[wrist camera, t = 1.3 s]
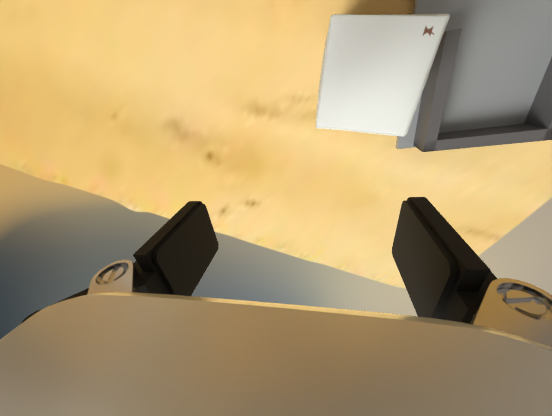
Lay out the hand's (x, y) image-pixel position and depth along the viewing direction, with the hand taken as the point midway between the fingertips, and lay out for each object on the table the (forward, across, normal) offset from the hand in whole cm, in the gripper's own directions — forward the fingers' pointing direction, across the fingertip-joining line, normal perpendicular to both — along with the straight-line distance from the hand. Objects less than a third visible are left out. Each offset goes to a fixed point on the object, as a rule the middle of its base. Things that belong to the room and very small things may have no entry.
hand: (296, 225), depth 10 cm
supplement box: (+23, -5, -6) cm, 24 cm away
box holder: (+22, -19, -7) cm, 30 cm away
